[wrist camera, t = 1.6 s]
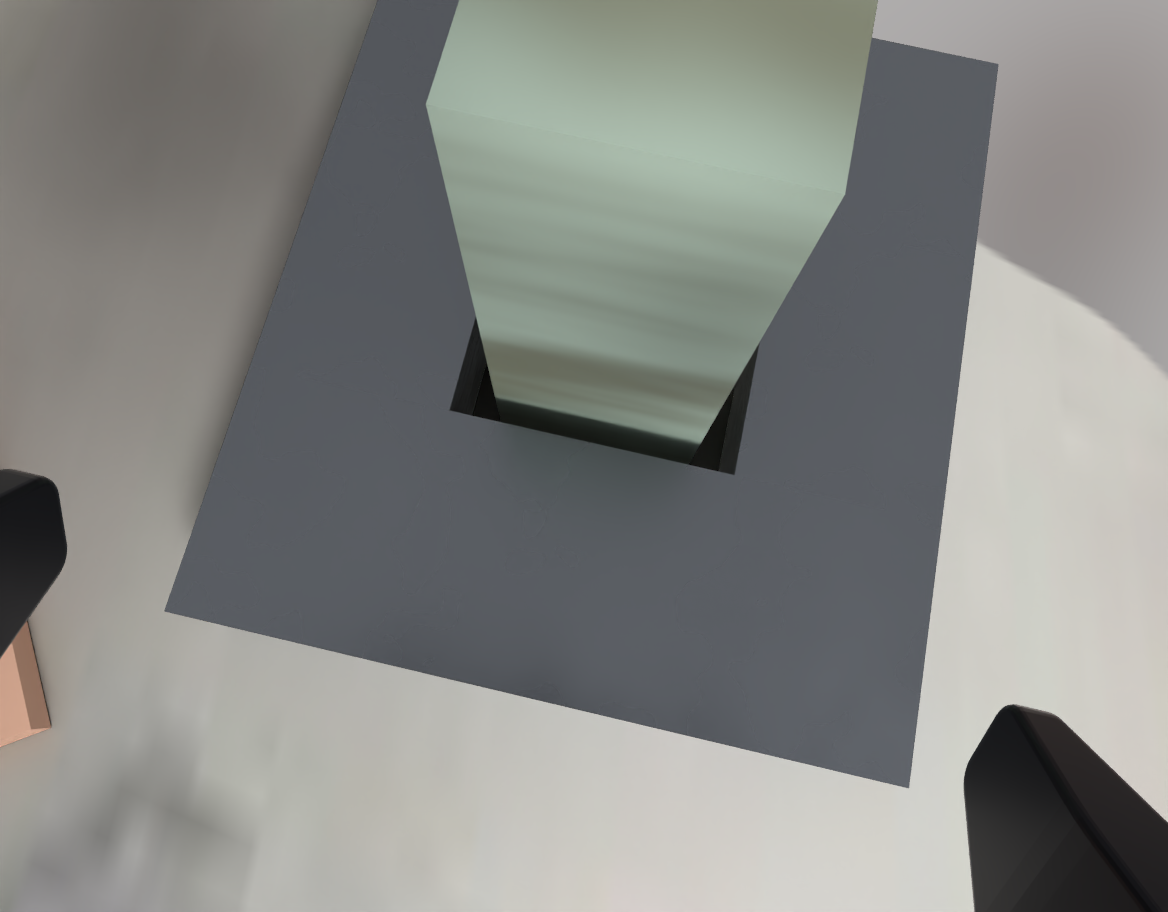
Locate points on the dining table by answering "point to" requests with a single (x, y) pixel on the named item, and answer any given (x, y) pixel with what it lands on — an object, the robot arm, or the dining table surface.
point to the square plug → (640, 195)
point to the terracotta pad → (21, 692)
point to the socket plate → (610, 450)
